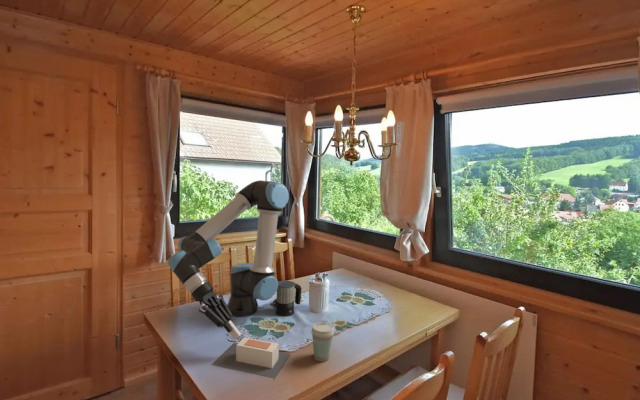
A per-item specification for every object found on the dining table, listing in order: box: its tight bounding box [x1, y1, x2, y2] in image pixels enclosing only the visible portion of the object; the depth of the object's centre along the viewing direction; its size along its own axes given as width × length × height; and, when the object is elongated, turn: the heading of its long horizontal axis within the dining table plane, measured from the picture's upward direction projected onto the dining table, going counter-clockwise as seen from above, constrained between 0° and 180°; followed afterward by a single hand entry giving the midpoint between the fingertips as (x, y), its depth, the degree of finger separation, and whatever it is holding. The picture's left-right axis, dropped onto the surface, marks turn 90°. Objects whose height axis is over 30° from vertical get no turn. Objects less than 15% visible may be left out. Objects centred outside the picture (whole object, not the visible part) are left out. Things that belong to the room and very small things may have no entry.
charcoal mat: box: [211, 342, 291, 380], centre depth 124 cm, size 24×16×1 cm, turn 75°
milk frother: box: [272, 280, 302, 317], centre depth 170 cm, size 14×16×15 cm
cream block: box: [236, 337, 280, 368], centre depth 124 cm, size 6×6×14 cm
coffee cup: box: [311, 322, 335, 362], centre depth 128 cm, size 8×9×12 cm
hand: (237, 336), depth 125 cm, fingers closed
